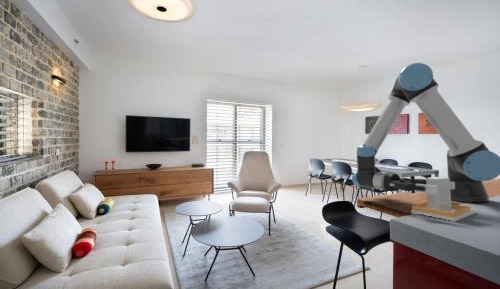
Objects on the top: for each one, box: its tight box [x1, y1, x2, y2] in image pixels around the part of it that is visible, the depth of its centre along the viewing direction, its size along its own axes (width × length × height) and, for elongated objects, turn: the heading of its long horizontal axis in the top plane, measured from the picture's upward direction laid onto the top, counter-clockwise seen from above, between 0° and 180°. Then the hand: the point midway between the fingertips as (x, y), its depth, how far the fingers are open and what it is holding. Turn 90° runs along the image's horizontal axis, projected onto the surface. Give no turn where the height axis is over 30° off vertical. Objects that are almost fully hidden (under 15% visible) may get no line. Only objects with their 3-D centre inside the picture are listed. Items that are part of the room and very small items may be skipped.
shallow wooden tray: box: [411, 201, 477, 223], centre depth 90 cm, size 18×13×3 cm
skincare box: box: [425, 176, 452, 212], centre depth 89 cm, size 6×4×12 cm
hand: (446, 187), depth 88 cm, fingers open, 13 cm apart
